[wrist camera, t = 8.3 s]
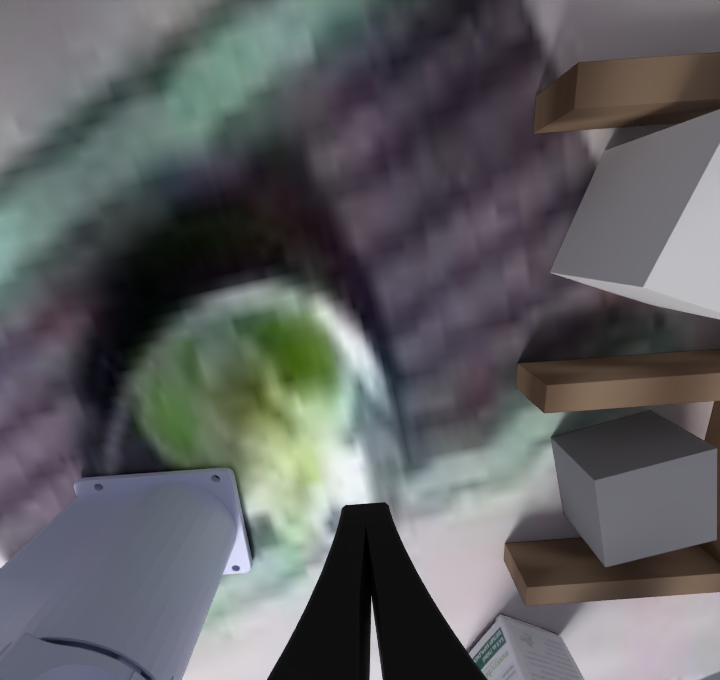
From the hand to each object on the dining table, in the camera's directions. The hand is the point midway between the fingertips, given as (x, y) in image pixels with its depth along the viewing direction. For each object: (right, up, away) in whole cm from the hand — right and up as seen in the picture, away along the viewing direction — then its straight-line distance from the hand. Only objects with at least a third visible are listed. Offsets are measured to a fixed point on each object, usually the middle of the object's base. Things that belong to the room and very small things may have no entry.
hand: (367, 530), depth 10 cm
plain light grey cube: (+13, +11, +7) cm, 19 cm away
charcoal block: (+15, -2, +11) cm, 19 cm away
